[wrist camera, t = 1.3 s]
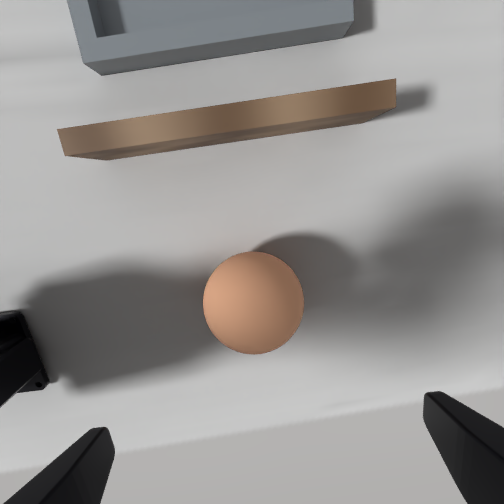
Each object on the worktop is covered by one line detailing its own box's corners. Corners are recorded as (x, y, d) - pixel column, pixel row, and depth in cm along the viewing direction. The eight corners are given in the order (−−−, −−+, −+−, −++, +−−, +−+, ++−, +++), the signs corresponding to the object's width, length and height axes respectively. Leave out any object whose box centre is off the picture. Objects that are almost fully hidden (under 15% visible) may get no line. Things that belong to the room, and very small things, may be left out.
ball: (218, 325, 20) (205, 384, 15) (203, 247, 19) (182, 279, 13) (298, 315, 20) (318, 371, 14) (291, 236, 19) (309, 262, 13)
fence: (106, 160, 17) (65, 155, 13) (101, 140, 17) (57, 129, 13) (362, 123, 17) (395, 107, 13) (361, 101, 16) (396, 78, 13)
